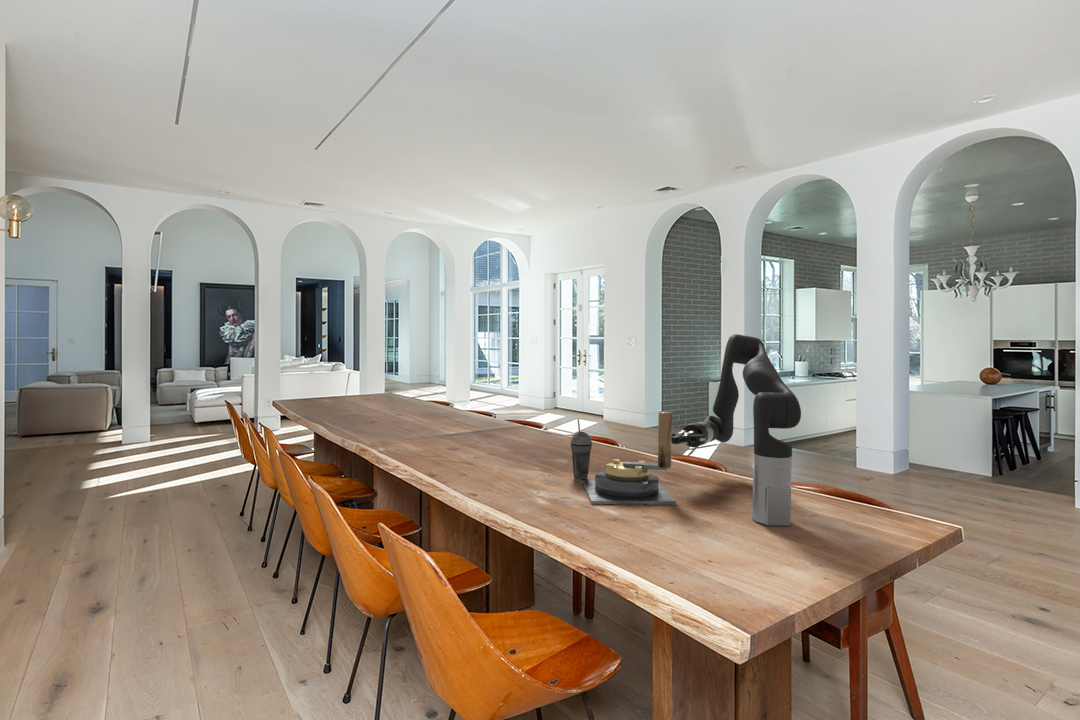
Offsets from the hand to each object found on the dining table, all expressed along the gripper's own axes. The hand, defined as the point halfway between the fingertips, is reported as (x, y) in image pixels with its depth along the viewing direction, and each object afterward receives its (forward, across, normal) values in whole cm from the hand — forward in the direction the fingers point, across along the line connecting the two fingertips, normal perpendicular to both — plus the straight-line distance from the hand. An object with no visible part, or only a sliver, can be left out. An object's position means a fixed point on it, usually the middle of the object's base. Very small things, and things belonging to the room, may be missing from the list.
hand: (674, 440), depth 179 cm
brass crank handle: (+9, -7, +11) cm, 16 cm away
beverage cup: (+3, -32, +16) cm, 36 cm away
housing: (+10, -10, +16) cm, 22 cm away
